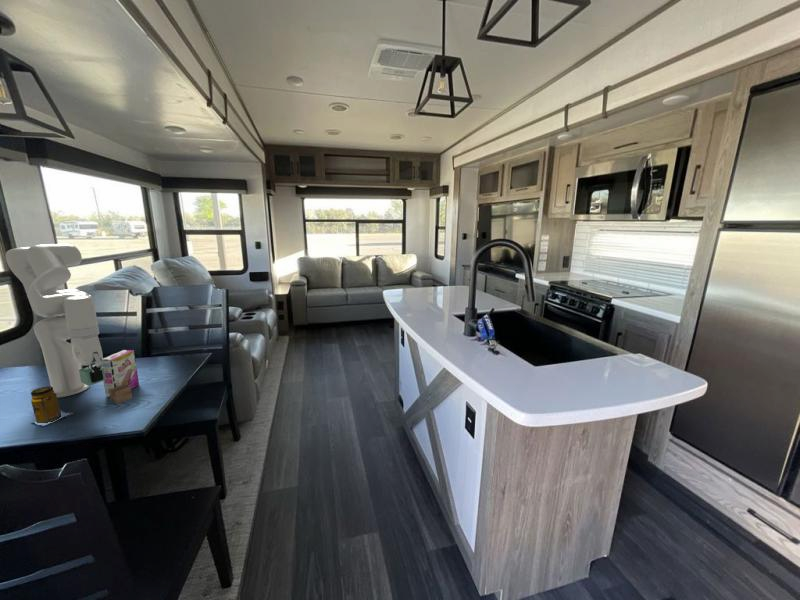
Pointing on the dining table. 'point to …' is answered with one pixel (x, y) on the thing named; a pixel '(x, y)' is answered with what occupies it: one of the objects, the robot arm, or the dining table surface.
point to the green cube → (86, 375)
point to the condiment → (45, 405)
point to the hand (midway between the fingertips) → (93, 378)
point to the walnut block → (120, 394)
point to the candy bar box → (120, 370)
